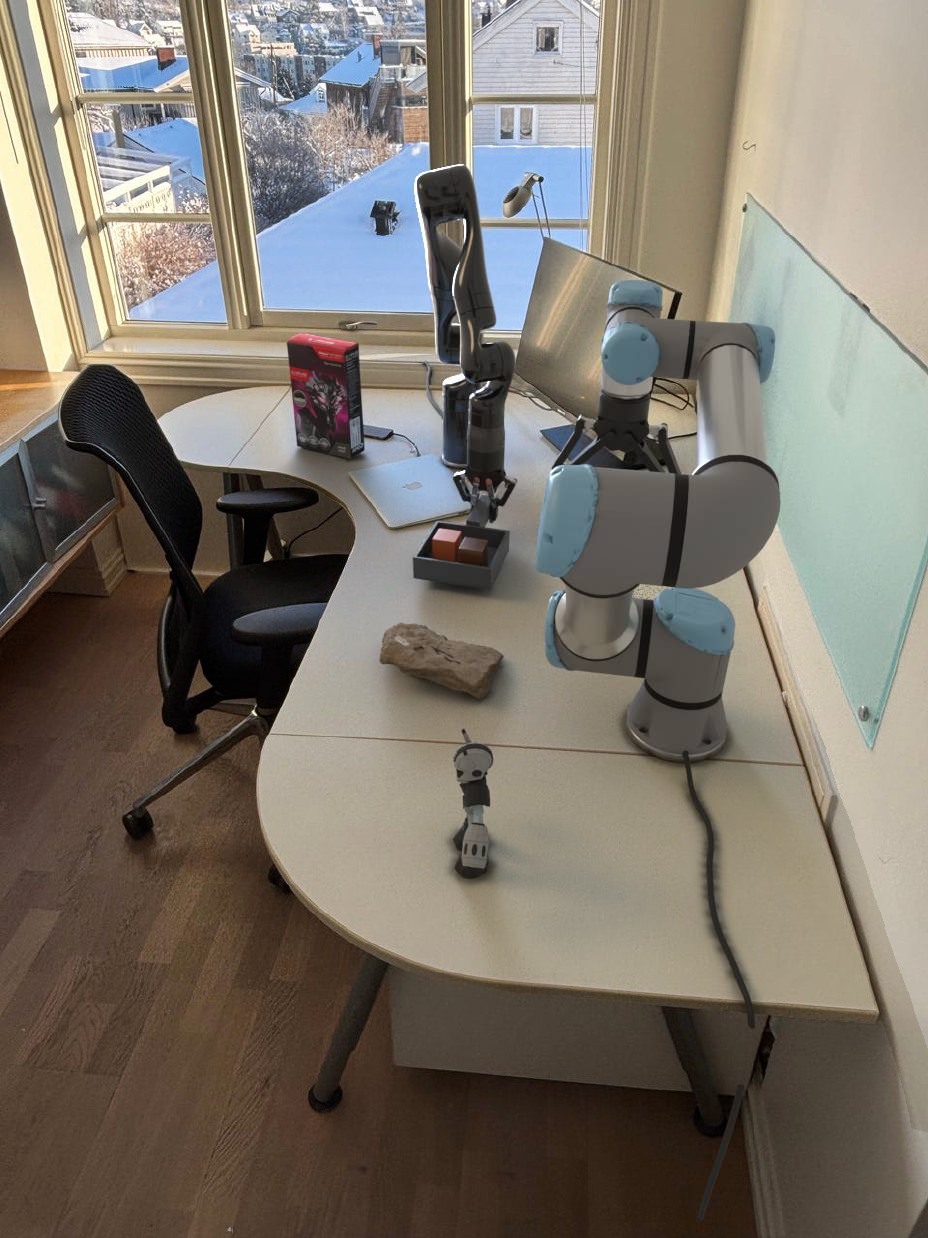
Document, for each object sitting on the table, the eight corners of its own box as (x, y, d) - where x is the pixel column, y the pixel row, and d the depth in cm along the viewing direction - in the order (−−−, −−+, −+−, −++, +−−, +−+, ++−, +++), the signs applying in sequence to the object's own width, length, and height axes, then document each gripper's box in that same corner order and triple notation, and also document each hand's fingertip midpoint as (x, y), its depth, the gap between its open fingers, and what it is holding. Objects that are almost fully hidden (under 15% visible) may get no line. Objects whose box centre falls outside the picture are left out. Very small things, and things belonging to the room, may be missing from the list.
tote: (490, 590, 173) (491, 564, 170) (413, 578, 176) (412, 553, 173) (522, 523, 194) (523, 499, 191) (452, 513, 198) (452, 490, 195)
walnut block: (481, 578, 175) (482, 551, 171) (458, 575, 176) (458, 548, 172) (487, 567, 178) (488, 540, 175) (465, 563, 179) (465, 536, 176)
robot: (495, 914, 114) (500, 797, 103) (456, 915, 114) (456, 798, 103) (484, 799, 130) (487, 688, 119) (450, 801, 130) (450, 689, 119)
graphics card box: (294, 447, 232) (283, 339, 217) (310, 437, 237) (301, 331, 222) (351, 461, 225) (344, 350, 210) (367, 450, 230) (361, 342, 215)
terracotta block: (454, 569, 178) (454, 542, 174) (432, 566, 179) (432, 539, 175) (461, 558, 181) (461, 531, 178) (439, 554, 182) (439, 528, 179)
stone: (355, 671, 149) (362, 639, 147) (387, 639, 163) (394, 609, 160) (477, 715, 146) (486, 682, 144) (499, 678, 159) (507, 648, 157)
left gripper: (524, 440, 185) (520, 517, 195) (457, 432, 188) (457, 508, 198) (516, 454, 179) (512, 533, 189) (447, 446, 182) (447, 524, 192)
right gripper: (712, 390, 137) (691, 517, 149) (547, 374, 143) (540, 498, 154) (709, 408, 131) (688, 539, 143) (538, 390, 137) (531, 518, 148)
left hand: (484, 520), depth 193 cm, fingers closed on tote, 2 cm apart
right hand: (611, 518), depth 149 cm, fingers open, 13 cm apart
